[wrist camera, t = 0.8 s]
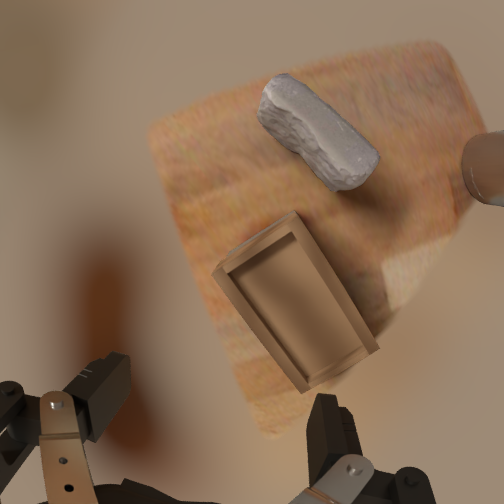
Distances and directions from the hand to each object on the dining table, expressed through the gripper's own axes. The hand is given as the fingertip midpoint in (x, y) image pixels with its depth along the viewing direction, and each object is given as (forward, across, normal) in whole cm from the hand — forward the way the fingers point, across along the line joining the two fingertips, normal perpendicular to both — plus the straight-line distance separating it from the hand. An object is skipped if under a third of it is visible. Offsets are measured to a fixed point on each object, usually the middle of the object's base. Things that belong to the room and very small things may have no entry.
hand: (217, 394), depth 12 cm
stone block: (+25, -3, -14) cm, 29 cm away
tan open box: (+21, -5, +2) cm, 22 cm away
